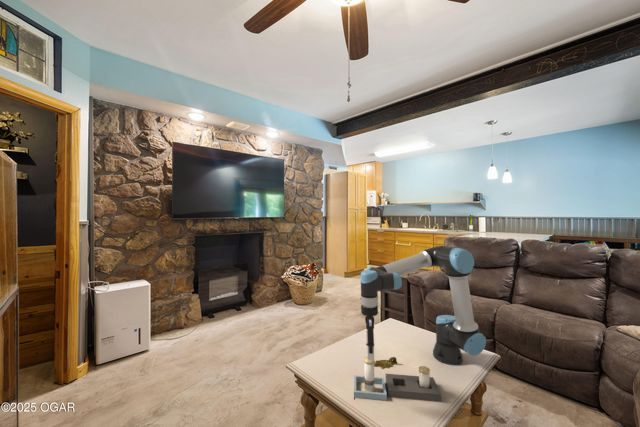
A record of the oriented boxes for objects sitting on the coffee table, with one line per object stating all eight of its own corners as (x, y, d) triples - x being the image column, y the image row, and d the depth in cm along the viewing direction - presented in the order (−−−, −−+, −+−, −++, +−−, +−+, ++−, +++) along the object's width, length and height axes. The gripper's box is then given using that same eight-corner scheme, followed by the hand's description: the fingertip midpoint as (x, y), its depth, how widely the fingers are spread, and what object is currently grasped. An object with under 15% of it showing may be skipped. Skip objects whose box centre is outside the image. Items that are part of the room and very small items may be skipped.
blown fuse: (374, 387, 122) (374, 357, 123) (375, 394, 118) (374, 362, 118) (364, 386, 123) (364, 356, 123) (364, 393, 119) (364, 361, 119)
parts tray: (383, 384, 125) (383, 377, 125) (386, 402, 114) (386, 394, 114) (354, 382, 127) (354, 375, 127) (353, 399, 116) (353, 391, 116)
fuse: (428, 388, 122) (428, 366, 122) (431, 395, 117) (430, 372, 117) (417, 387, 122) (417, 365, 122) (420, 394, 118) (420, 371, 118)
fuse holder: (433, 385, 125) (433, 377, 125) (441, 403, 113) (441, 394, 113) (385, 381, 128) (385, 373, 128) (388, 398, 116) (388, 389, 116)
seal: (376, 376, 135) (401, 370, 139) (377, 367, 134) (402, 362, 139) (367, 364, 143) (391, 359, 148) (368, 356, 143) (392, 351, 147)
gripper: (360, 296, 133) (361, 338, 134) (361, 315, 109) (362, 366, 109) (375, 296, 132) (376, 338, 132) (380, 316, 108) (381, 367, 108)
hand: (370, 351), depth 121 cm, fingers open, 13 cm apart
